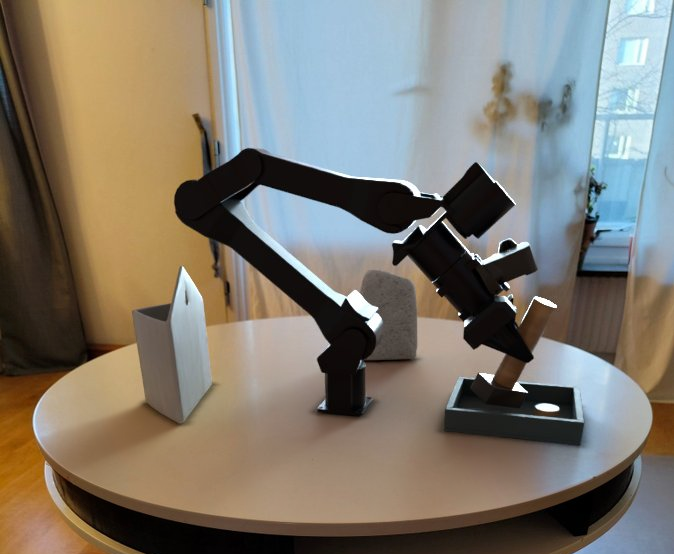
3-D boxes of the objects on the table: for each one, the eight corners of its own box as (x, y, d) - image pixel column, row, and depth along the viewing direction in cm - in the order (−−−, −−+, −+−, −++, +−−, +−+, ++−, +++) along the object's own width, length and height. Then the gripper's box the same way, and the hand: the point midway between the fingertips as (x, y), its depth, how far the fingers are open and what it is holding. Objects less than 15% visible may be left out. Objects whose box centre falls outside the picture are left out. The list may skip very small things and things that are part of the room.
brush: (485, 404, 79) (537, 304, 72) (469, 388, 82) (518, 291, 75) (519, 408, 82) (573, 312, 75) (503, 393, 85) (553, 299, 78)
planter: (163, 383, 97) (145, 257, 89) (212, 384, 97) (199, 257, 89) (125, 423, 83) (100, 276, 74) (183, 424, 82) (164, 276, 74)
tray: (580, 445, 74) (584, 422, 73) (443, 430, 79) (445, 409, 78) (576, 406, 86) (579, 386, 85) (457, 395, 91) (458, 376, 89)
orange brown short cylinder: (555, 427, 78) (557, 413, 77) (531, 423, 79) (533, 409, 79) (559, 419, 81) (561, 405, 80) (535, 416, 82) (537, 402, 81)
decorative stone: (416, 353, 111) (420, 268, 105) (417, 363, 106) (421, 274, 99) (356, 352, 112) (356, 268, 106) (354, 362, 107) (354, 274, 100)
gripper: (505, 225, 64) (597, 333, 67) (498, 211, 81) (573, 299, 84) (425, 298, 69) (514, 396, 72) (434, 271, 86) (507, 352, 88)
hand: (529, 356), depth 79 cm, fingers closed on brush, 3 cm apart
